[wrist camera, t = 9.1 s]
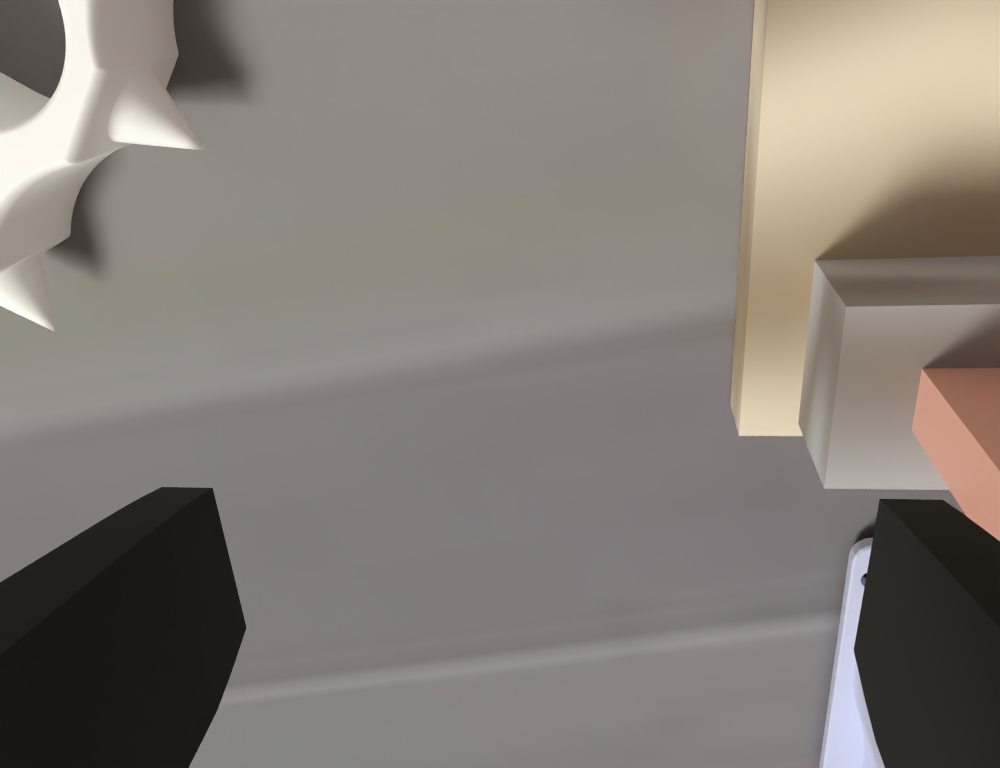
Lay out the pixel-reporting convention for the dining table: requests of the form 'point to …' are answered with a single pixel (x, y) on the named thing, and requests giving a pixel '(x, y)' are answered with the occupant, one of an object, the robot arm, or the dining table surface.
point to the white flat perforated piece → (80, 131)
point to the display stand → (866, 225)
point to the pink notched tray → (964, 437)
